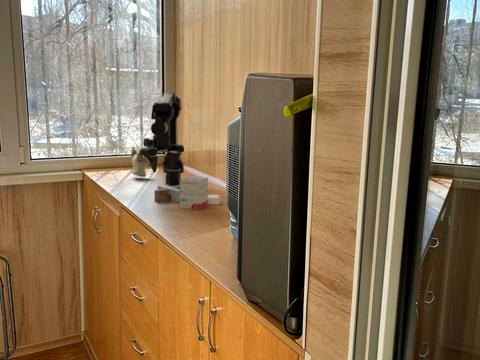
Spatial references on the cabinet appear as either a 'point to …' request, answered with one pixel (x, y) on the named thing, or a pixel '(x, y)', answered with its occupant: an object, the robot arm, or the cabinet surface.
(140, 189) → the cabinet surface
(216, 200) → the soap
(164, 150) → the robot arm
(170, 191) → the light blue block
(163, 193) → the brown boxy piece
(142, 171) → the ceramic sculpture
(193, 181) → the ink box
